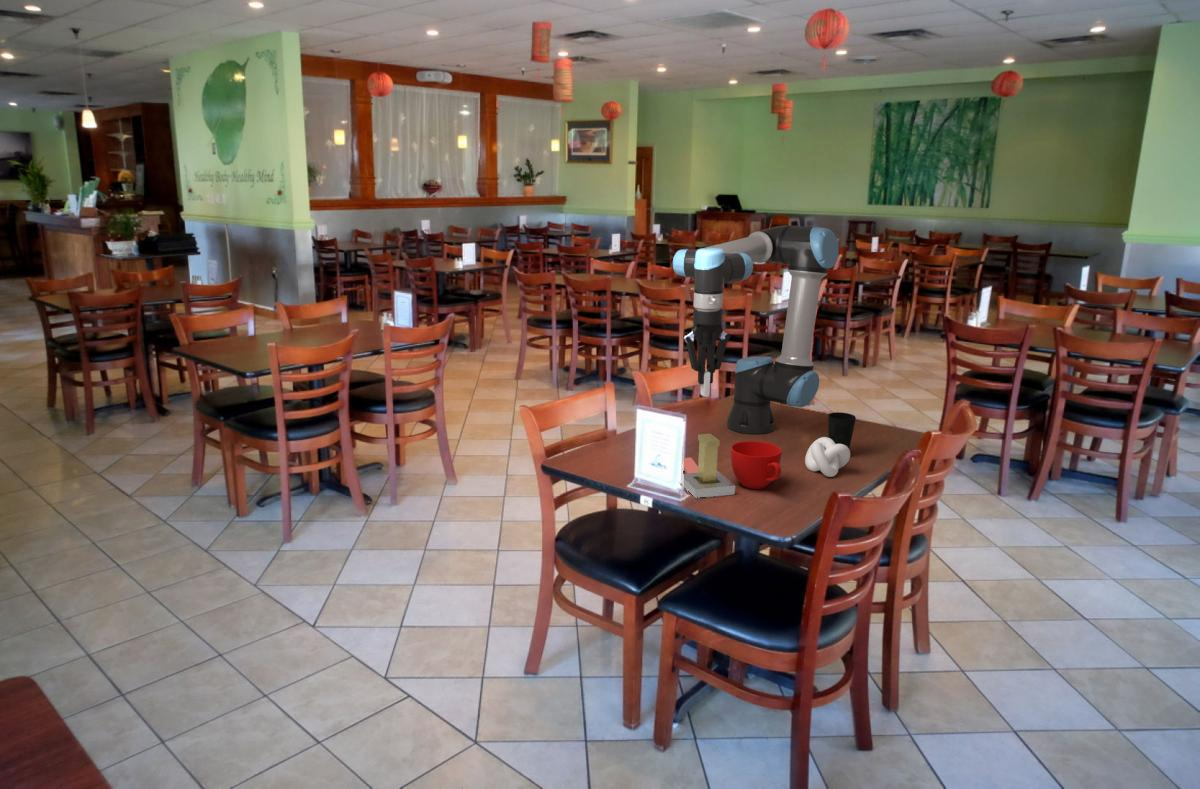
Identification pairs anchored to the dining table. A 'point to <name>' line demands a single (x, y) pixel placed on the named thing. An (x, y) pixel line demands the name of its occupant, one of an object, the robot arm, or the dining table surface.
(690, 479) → the socket block
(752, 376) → the robot arm
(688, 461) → the reddish flat block
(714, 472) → the khaki tall block
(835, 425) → the cup
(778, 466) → the ceramic cup
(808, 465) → the white knot
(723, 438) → the dining table surface
